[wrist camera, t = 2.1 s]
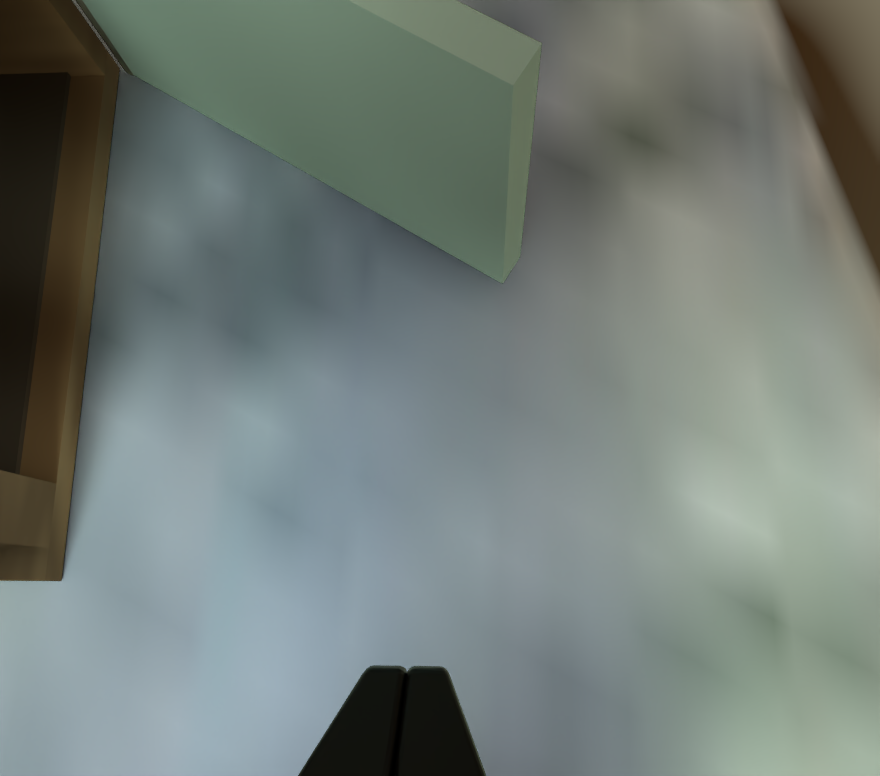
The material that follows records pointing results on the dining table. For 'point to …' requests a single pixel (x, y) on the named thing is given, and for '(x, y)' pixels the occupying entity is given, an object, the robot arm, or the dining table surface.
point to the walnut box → (47, 265)
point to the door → (359, 101)
